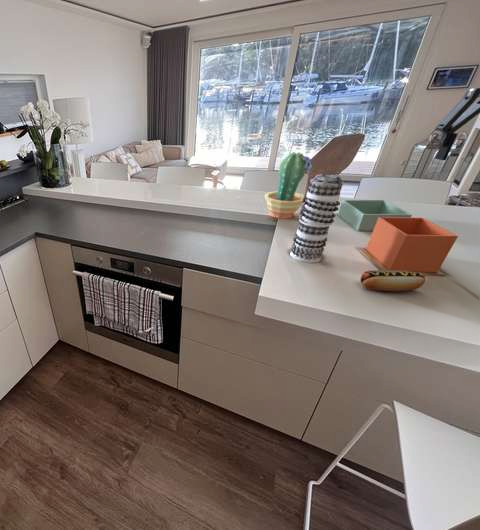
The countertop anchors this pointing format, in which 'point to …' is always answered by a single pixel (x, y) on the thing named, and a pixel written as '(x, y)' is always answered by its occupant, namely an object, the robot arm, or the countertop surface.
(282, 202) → the potted cactus
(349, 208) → the sage bin
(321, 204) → the decorative candle
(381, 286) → the hot dog
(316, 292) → the countertop surface
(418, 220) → the terracotta bin
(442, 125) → the robot arm
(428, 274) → the wooden square board
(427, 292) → the countertop surface
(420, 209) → the countertop surface
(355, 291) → the countertop surface
